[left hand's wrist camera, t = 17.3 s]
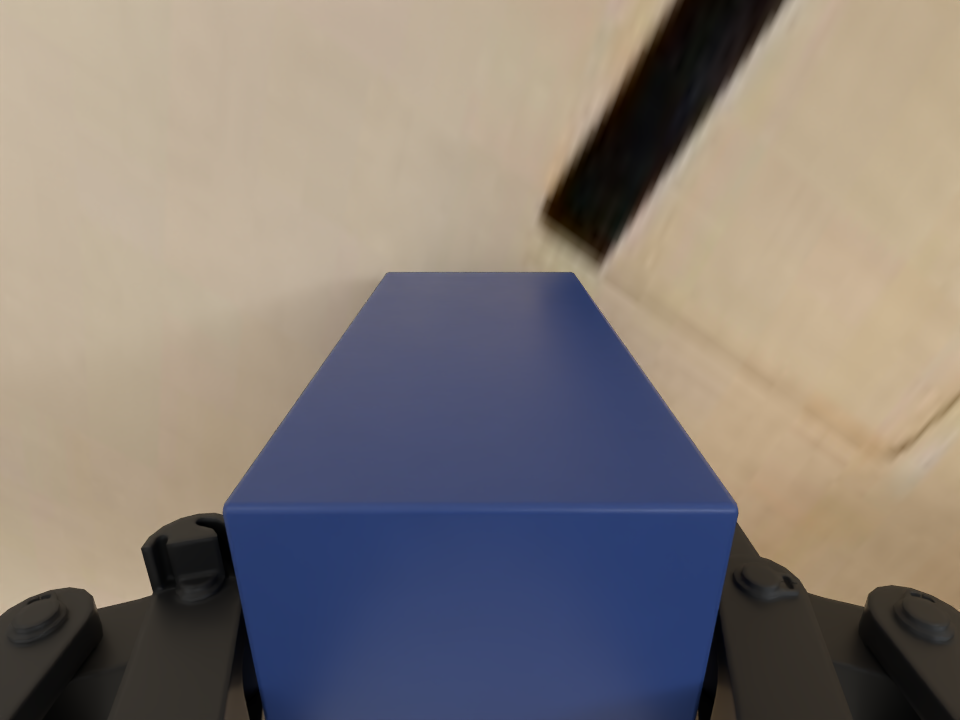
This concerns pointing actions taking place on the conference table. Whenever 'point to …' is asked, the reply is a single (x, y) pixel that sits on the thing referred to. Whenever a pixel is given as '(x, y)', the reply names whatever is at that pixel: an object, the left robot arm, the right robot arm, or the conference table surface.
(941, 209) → the conference table surface
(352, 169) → the conference table surface
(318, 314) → the conference table surface
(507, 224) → the conference table surface
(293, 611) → the brick
